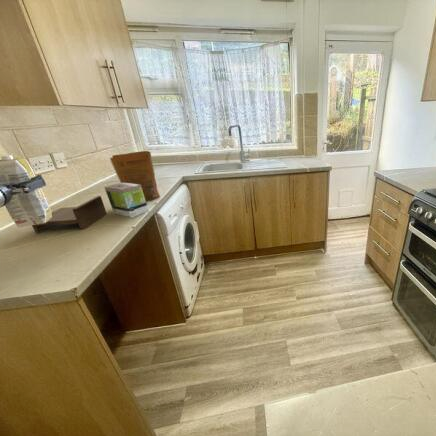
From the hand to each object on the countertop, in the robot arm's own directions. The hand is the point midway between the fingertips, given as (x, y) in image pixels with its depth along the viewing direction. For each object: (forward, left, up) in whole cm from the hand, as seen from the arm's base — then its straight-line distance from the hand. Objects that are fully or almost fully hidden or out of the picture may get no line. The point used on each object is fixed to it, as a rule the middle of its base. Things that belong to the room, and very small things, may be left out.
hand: (22, 180), depth 87 cm
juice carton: (+2, -4, -15) cm, 16 cm away
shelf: (-5, +21, -26) cm, 34 cm away
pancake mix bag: (+16, +49, -26) cm, 57 cm away
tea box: (+17, +30, -26) cm, 43 cm away
